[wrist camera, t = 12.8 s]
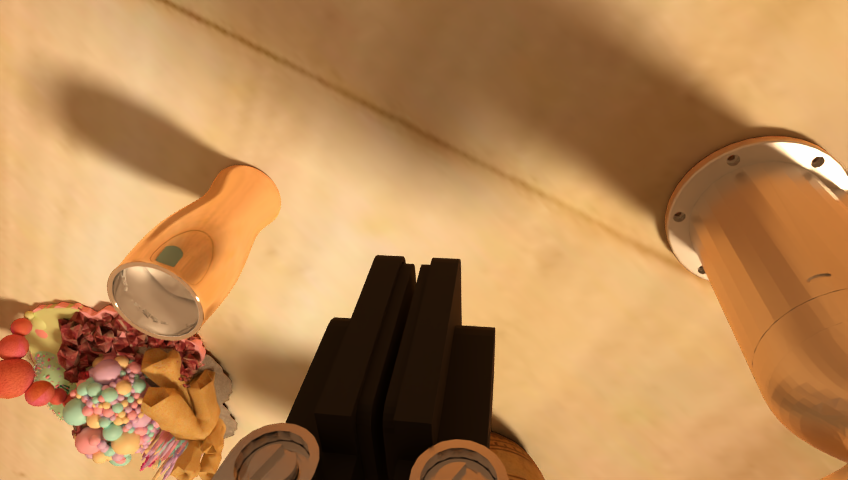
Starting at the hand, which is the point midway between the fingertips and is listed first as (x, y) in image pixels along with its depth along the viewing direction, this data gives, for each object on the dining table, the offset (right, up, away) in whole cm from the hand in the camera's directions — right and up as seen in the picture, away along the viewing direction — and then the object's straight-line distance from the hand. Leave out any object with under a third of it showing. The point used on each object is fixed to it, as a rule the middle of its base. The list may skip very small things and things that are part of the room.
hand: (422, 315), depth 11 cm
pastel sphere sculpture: (-33, -14, +54) cm, 65 cm away
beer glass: (-15, +6, +38) cm, 41 cm away
